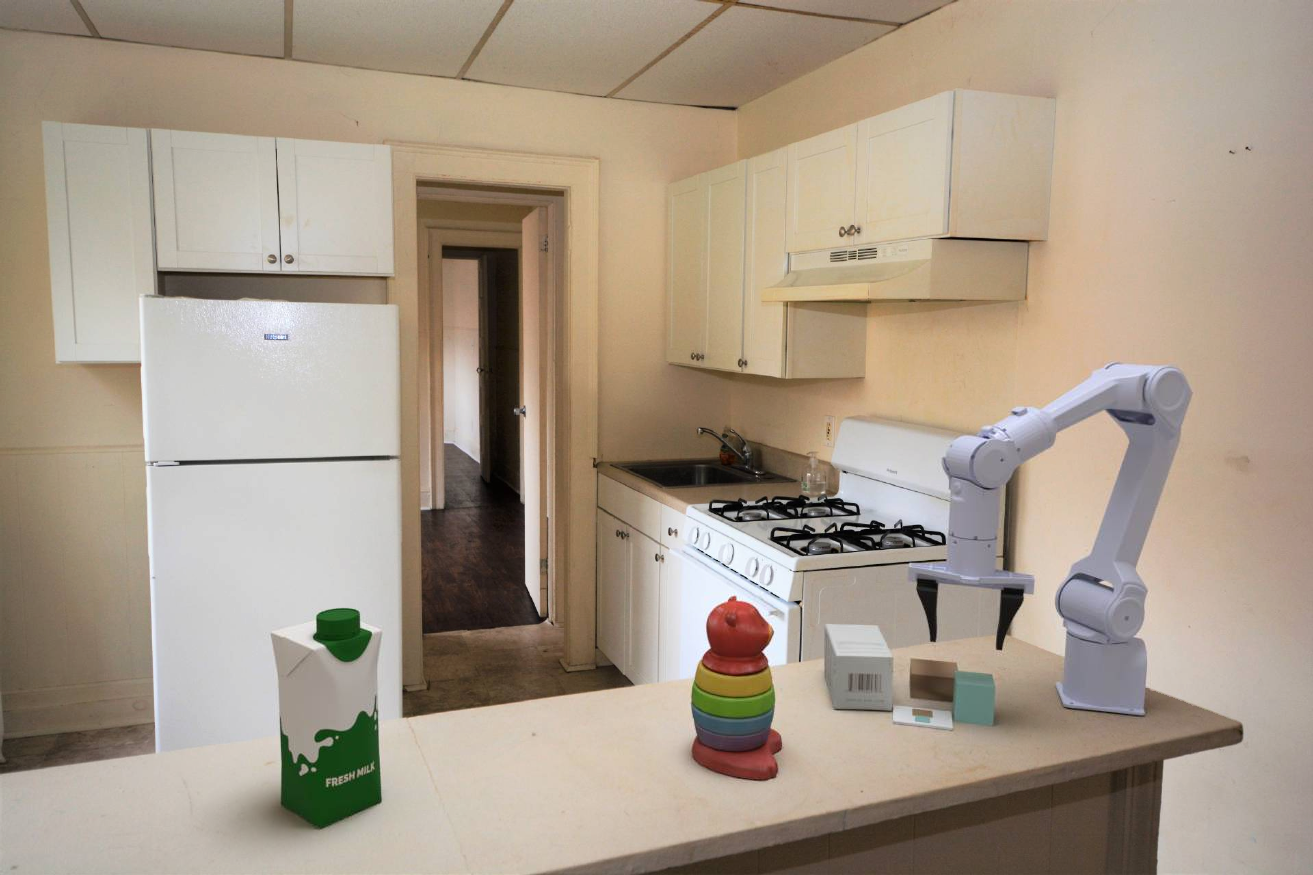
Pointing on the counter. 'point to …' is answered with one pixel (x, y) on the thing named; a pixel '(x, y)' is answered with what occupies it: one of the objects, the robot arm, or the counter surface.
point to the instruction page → (922, 717)
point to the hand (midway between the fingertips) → (965, 643)
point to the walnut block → (932, 679)
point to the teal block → (973, 698)
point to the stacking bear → (735, 695)
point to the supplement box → (858, 667)
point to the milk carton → (328, 716)
